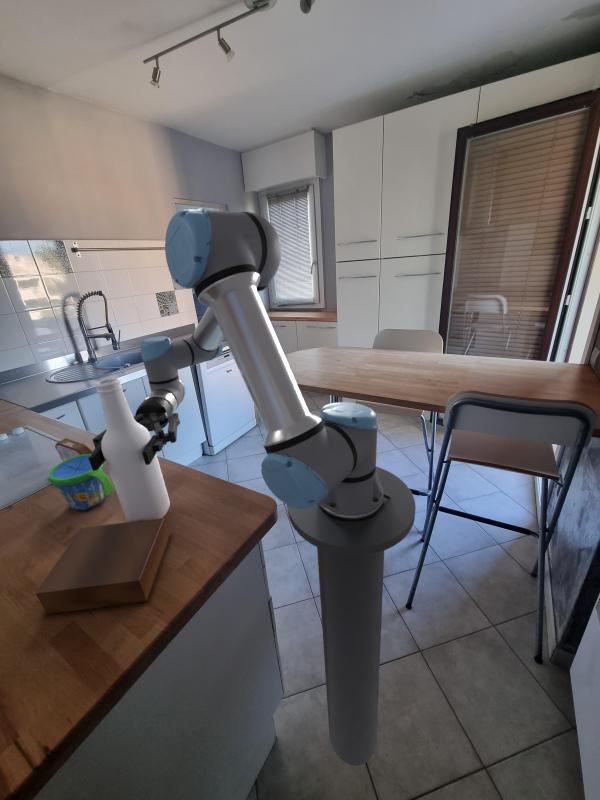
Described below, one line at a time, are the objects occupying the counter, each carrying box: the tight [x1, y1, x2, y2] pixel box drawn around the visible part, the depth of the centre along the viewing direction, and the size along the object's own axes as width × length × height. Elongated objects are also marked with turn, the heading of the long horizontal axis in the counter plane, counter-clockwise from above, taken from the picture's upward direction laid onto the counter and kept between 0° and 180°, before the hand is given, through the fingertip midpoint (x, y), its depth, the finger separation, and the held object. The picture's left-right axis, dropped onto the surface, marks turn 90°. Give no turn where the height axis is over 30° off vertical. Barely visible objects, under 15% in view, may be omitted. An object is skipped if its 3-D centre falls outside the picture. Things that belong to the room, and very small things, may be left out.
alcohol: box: [95, 377, 171, 522], centre depth 65 cm, size 9×9×30 cm
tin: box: [54, 437, 93, 462], centre depth 93 cm, size 15×3×8 cm, turn 62°
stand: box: [35, 517, 170, 615], centre depth 60 cm, size 16×14×5 cm
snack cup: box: [48, 454, 114, 511], centre depth 79 cm, size 16×10×10 cm
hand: (119, 461), depth 61 cm, fingers closed on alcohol, 9 cm apart
